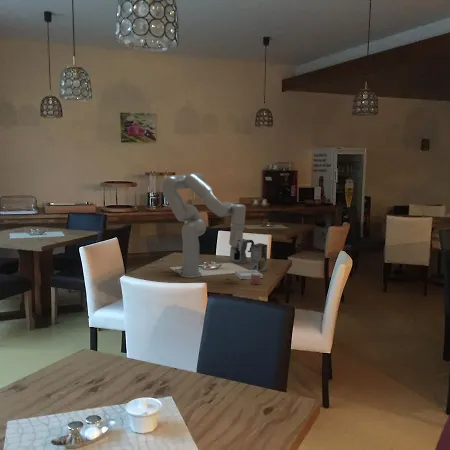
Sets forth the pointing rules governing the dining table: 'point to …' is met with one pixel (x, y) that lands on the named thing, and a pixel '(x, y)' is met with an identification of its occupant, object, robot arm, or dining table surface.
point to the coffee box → (258, 257)
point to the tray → (245, 274)
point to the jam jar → (255, 277)
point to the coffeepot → (243, 254)
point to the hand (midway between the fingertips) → (235, 257)
